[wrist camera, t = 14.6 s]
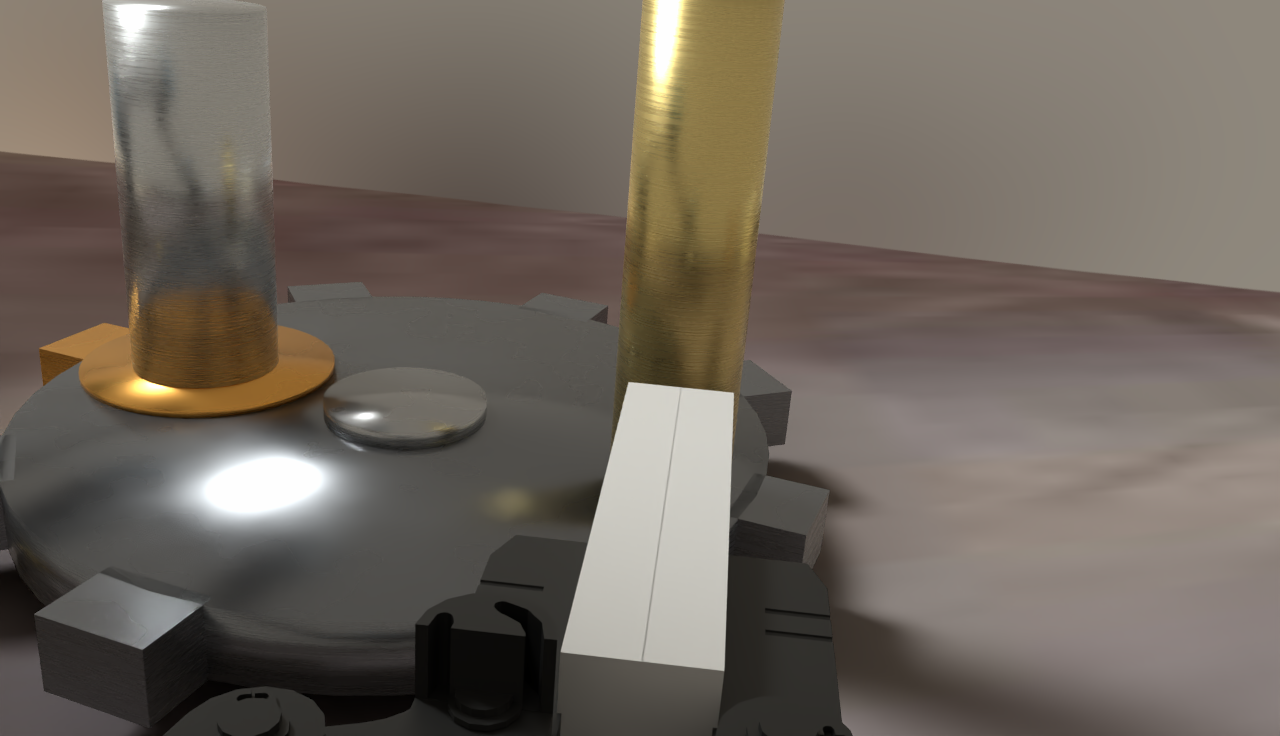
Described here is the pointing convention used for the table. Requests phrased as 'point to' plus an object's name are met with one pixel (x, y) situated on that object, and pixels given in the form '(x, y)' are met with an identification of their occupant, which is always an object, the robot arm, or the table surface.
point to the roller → (194, 187)
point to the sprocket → (401, 430)
